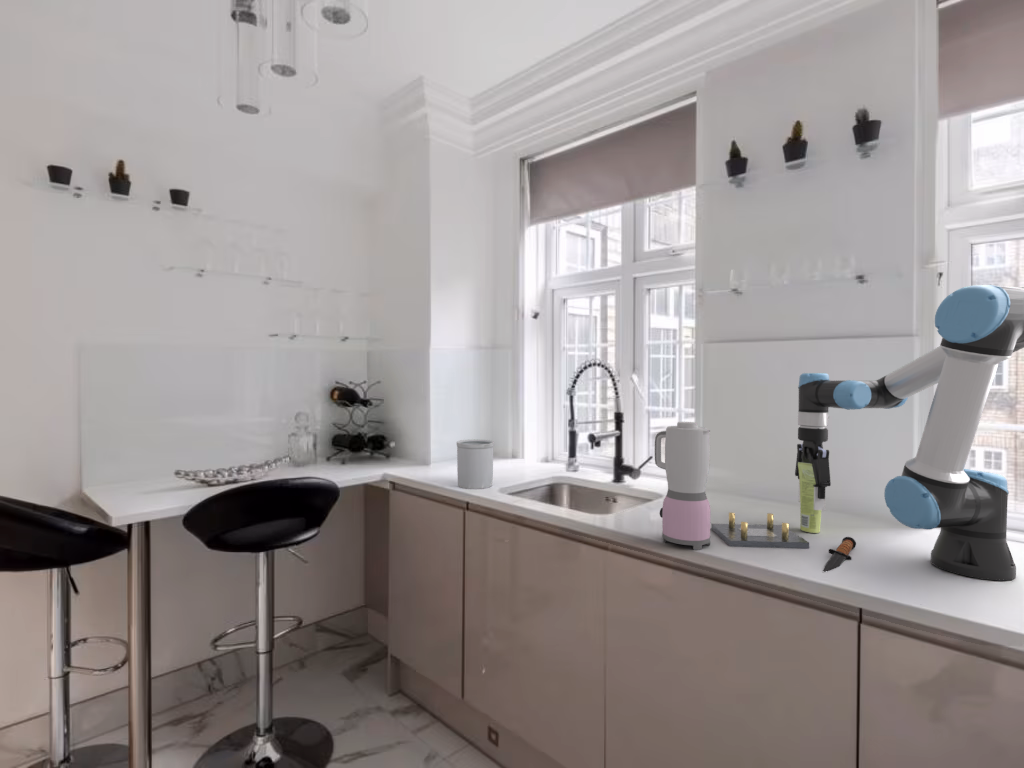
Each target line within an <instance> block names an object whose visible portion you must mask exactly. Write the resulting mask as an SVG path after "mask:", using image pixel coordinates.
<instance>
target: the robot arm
mask: <svg viewBox="0 0 1024 768" xmlns="http://www.w3.org/2000/svg"><path fill="white" fill-rule="evenodd" d="M934 326H935V328H937V330H936V331H937V333H938V335H939V336H941V337H942V338H941V342H940V344H939V346H937V347H935V348H933V349H931V350H930V351H928V352H926V353H924V354H922V355H921V356H919V357H917V358H915V359H913V360H912V361H910V362H907V363H906V364H904V365H902V366H901V367H899V368H897V369H895V370H893V371H892V372H890V373H888V374H886V375H884V376H883V377H880V378H878V379H876V380H854V379H853V380H850V379H847V380H831V379H830V375H829V374H828V373H826V372H825V373H824V372H823V373H820V372H819V373H818V372H817V373H816V372H812V373H811V372H809V373H808V372H806V373H805V372H804V373H801V374H800V375H799V380H798V386H797V388H798V412H797V425H798V426H799V427H798V428H797V439H798V440H799V441H802V443H797V445H796V449H797V453H796V460H795V461H796V462H795V469H794V470H795V471H794V476H795V477H797V479H798V503H800V480H799V469H798V462H802V463H810V464H812V467H813V472H814V477H815V483H816V484H815V485H813V486H814V510H821V511H826V488H827V487H830V486H831V484H832V483H831V473H830V472H831V471H830V460H829V459H830V450H829V449H825V448H824V446H823V443H826V442H828V439H829V429H828V428H826V427H828V425H829V419H830V416H829V408H834V409H844V410H862V409H889V410H890V409H894V408H899V407H902V406H904V404H905V403H906V402H907V401H908V398H910V397H912V396H914V395H916V394H918V393H920V392H922V391H924V390H926V389H928V388H930V387H933V386H935V385H936V388H935V392H934V394H933V398H932V402H931V406H930V409H929V412H928V415H927V419H926V422H925V425H924V429H923V432H922V435H921V438H920V442H919V444H918V447H917V452H916V456H915V457H913V458H911V459H908V460H906V461H905V463H904V467H903V469H902V473H901V475H897V476H895V477H893V478H891V479H889V480H888V482H887V483H886V485H885V488H884V493H883V494H884V501H885V504H886V507H887V508H888V510H889V512H890V514H891V515H892V517H894V519H896V520H897V522H900V523H901V524H902V525H903V526H905V527H908V528H911V529H918V530H919V529H922V530H933V529H939V528H940V531H939V534H938V536H937V538H936V540H935V543H934V545H933V549H932V550H931V551H930V563H931V564H932V565H933V566H935V567H937V568H939V569H940V570H943V571H944V570H945V571H947V572H950V573H953V574H957V575H961V576H964V577H969V578H976V579H981V580H987V581H988V580H989V581H990V580H991V581H1010V580H1014V579H1016V577H1017V566H1016V563H1015V562H1014V558H1013V554H1012V553H1011V550H1010V547H1009V545H1008V542H1007V527H1008V526H1007V523H1008V499H1009V494H1010V493H1009V490H1008V480H1007V479H1006V477H1005V476H1003V475H1002V474H998V473H993V472H987V471H980V470H975V469H968V468H967V469H966V468H965V467H966V464H967V462H968V461H967V460H968V458H969V454H970V452H971V449H972V445H973V443H974V439H975V437H976V434H977V431H978V427H979V424H980V422H981V418H982V415H983V411H984V409H985V406H986V403H987V400H988V396H989V394H990V391H991V388H992V385H993V381H994V378H995V376H996V373H997V369H998V367H999V364H1000V363H1001V362H1004V361H1006V360H1007V359H1010V358H1012V355H1013V353H1015V352H1017V351H1020V350H1022V349H1024V287H1020V286H1019V287H1018V286H1015V287H1014V286H1004V285H1003V286H1002V285H993V284H977V285H976V284H975V285H969V286H965V287H960V288H958V289H956V290H954V291H953V292H951V293H949V294H948V295H947V296H946V297H945V298H944V299H943V300H942V301H941V303H939V305H938V307H937V309H936V312H935V315H934Z"/></svg>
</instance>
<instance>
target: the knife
mask: <svg viewBox="0 0 1024 768" xmlns="http://www.w3.org/2000/svg"><path fill="white" fill-rule="evenodd" d="M855 547H857V542H856V540H855V539H854V538H853V537H851V536H845V537H843V539H842V540H841V543H840V544H839V545H838V547H837V548H836V550H835V549H833V548H829V549H828V553H829V554H830V555H831V557H830V558H829V559H828V561H827V562H826V563H825V565H824V566H823V567H824V568H823V570H822V571H824V572H823V573H826V571H827V572H829V571H833V570H835V569H837V568H840V566H841V565H842V564H843V562H844V561H845V560H848V561H849V560H850V561H852V556H850V552H851V551H852V549H855Z"/></svg>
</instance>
